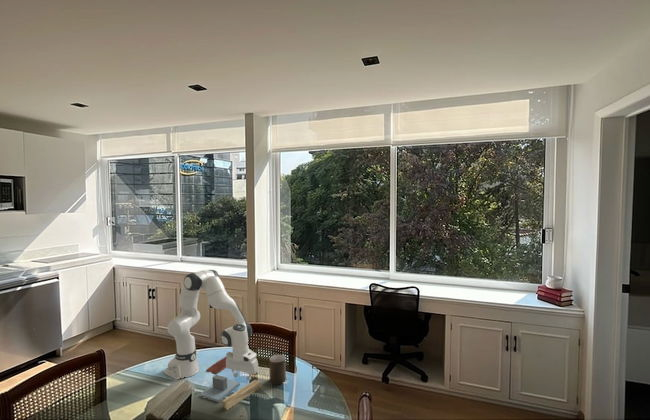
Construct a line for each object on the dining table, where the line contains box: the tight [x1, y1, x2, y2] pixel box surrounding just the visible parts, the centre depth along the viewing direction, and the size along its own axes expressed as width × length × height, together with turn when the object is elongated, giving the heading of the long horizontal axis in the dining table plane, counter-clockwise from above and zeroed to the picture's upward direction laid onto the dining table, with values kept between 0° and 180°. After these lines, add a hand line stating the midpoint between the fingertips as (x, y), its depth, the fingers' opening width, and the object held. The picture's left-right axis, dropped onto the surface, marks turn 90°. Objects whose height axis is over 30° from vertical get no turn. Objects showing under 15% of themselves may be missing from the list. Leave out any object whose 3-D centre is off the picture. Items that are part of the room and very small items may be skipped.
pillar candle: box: [269, 354, 287, 385], centre depth 207 cm, size 10×10×15 cm
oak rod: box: [221, 379, 261, 411], centre depth 191 cm, size 4×24×4 cm, turn 144°
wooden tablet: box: [205, 356, 227, 375], centre depth 229 cm, size 27×10×2 cm, turn 157°
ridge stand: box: [199, 374, 241, 403], centre depth 198 cm, size 14×18×8 cm
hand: (242, 377), depth 191 cm, fingers open, 8 cm apart
